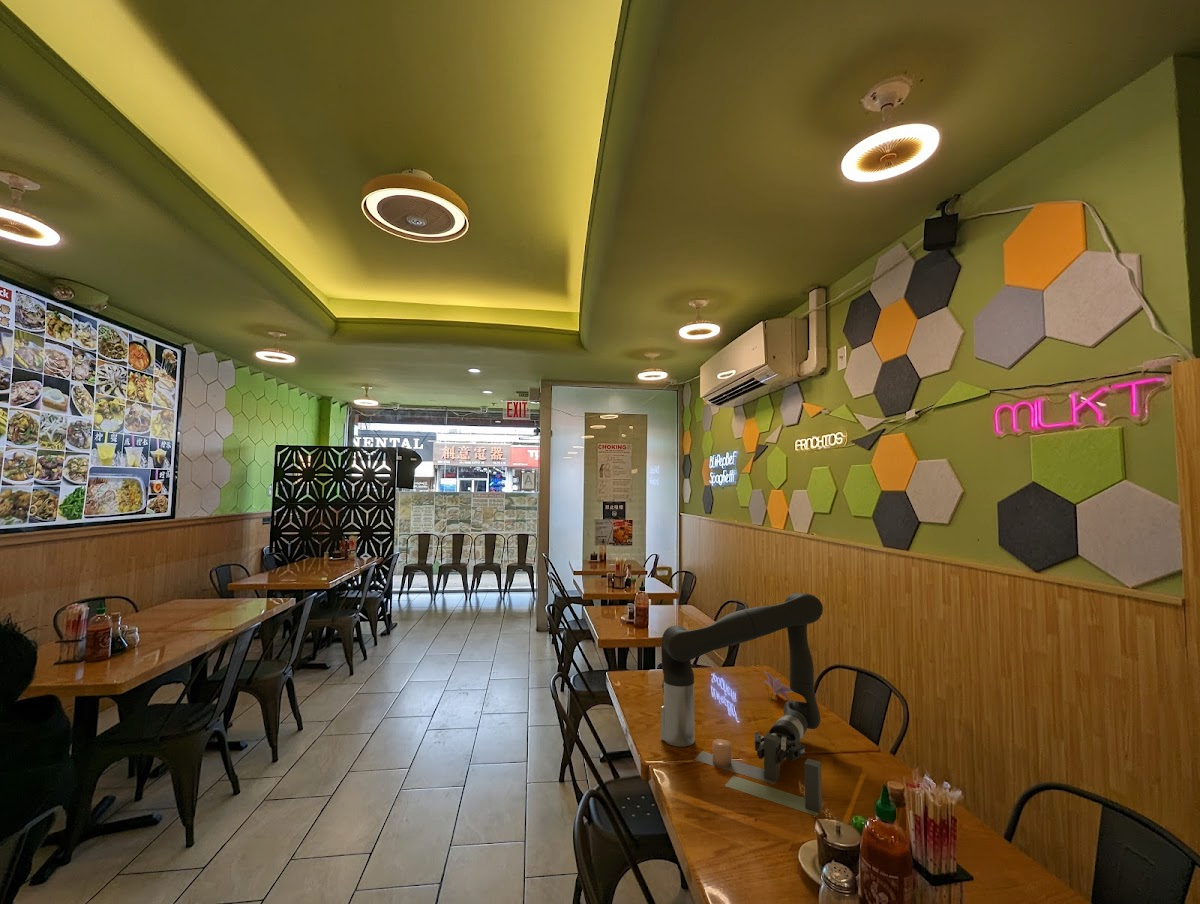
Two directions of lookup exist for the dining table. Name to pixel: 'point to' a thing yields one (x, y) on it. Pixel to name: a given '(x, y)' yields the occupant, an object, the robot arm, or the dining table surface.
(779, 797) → the grey angle bracket
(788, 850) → the dining table surface
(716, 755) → the tan round cylinder
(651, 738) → the dining table surface
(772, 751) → the grey l-shaped bracket
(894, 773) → the dining table surface
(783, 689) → the lily
